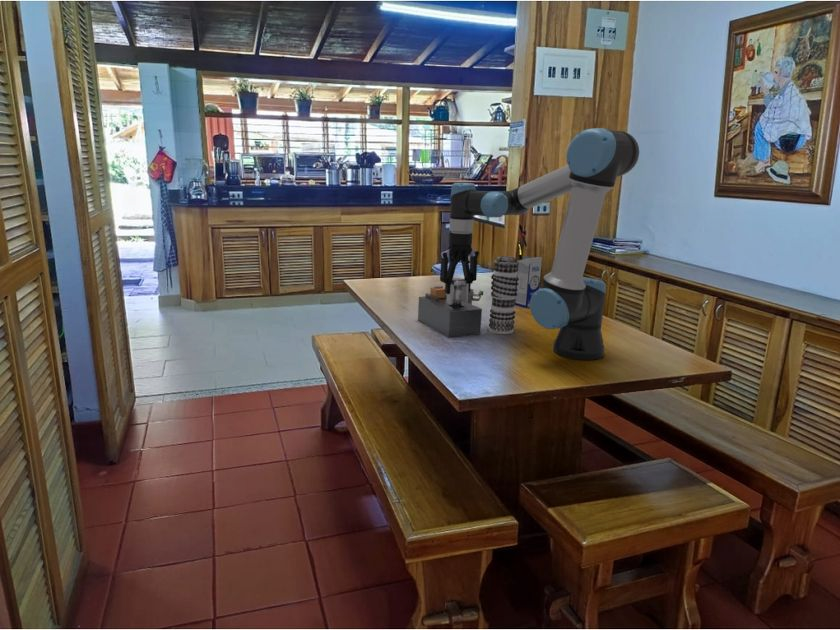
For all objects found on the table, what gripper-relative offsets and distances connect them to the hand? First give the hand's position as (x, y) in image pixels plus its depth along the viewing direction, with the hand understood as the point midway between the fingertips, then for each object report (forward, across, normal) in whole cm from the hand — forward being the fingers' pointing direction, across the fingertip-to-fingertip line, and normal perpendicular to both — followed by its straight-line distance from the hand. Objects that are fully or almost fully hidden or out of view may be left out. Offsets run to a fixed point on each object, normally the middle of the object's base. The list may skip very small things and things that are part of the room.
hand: (457, 302), depth 193 cm
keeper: (+1, 0, -13) cm, 13 cm away
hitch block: (+10, 0, -5) cm, 11 cm away
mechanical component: (+10, -14, -15) cm, 23 cm away
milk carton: (+10, -45, -21) cm, 51 cm away
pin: (+2, 0, 0) cm, 2 cm away
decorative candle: (+10, -15, +5) cm, 19 cm away
